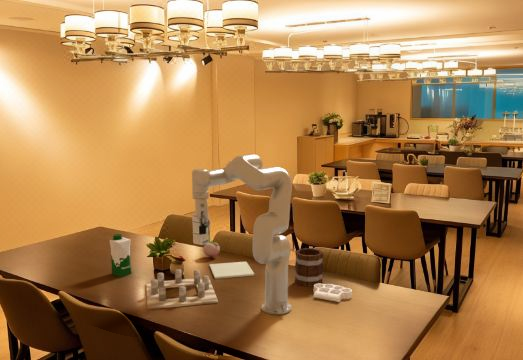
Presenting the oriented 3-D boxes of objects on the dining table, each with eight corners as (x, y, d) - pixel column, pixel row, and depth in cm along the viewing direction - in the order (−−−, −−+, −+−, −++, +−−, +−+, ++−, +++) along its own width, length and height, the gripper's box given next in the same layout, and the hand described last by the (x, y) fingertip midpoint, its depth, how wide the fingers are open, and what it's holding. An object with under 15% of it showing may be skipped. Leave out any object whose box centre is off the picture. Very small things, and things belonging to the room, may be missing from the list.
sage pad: (254, 275, 249) (254, 273, 249) (214, 278, 245) (214, 276, 245) (246, 263, 269) (246, 261, 269) (209, 266, 264) (209, 264, 264)
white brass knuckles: (306, 298, 222) (318, 287, 235) (345, 305, 214) (355, 294, 227) (306, 291, 221) (318, 280, 234) (345, 298, 213) (355, 286, 226)
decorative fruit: (200, 259, 276) (200, 241, 274) (206, 254, 283) (206, 238, 282) (216, 260, 273) (216, 243, 271) (221, 256, 281) (221, 239, 279)
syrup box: (202, 245, 231) (201, 214, 229) (192, 243, 234) (192, 213, 232) (210, 242, 236) (209, 212, 233) (201, 240, 239) (200, 211, 237)
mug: (321, 288, 233) (322, 257, 231) (292, 285, 236) (293, 255, 233) (324, 274, 252) (325, 245, 250) (298, 272, 255) (298, 244, 252)
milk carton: (123, 269, 258) (121, 232, 255) (134, 273, 252) (132, 235, 249) (108, 274, 251) (107, 236, 248) (120, 278, 245) (118, 239, 242)
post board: (218, 302, 215) (217, 287, 214) (147, 309, 208) (146, 293, 207) (208, 279, 244) (208, 265, 243) (146, 284, 237) (145, 270, 236)
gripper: (211, 198, 224) (212, 236, 227) (205, 191, 241) (206, 227, 244) (195, 199, 222) (195, 237, 225) (190, 192, 239) (191, 228, 242)
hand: (201, 231), depth 234 cm, fingers closed on syrup box, 7 cm apart
